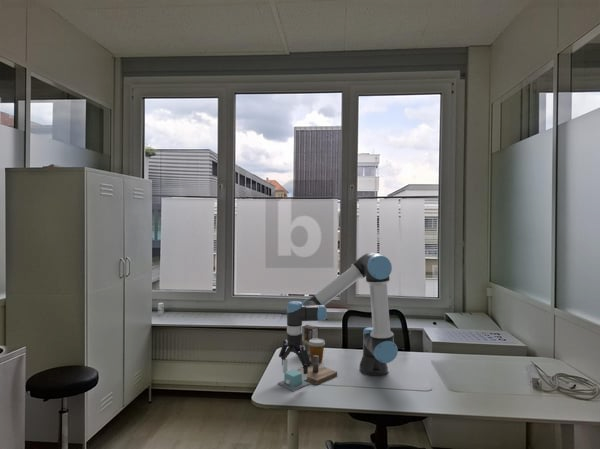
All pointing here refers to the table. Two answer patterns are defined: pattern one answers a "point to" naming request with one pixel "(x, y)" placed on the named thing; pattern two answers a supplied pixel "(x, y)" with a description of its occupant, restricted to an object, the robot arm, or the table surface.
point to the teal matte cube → (293, 377)
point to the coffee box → (309, 335)
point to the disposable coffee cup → (316, 348)
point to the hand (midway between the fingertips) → (294, 376)
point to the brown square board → (318, 372)
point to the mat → (294, 386)
